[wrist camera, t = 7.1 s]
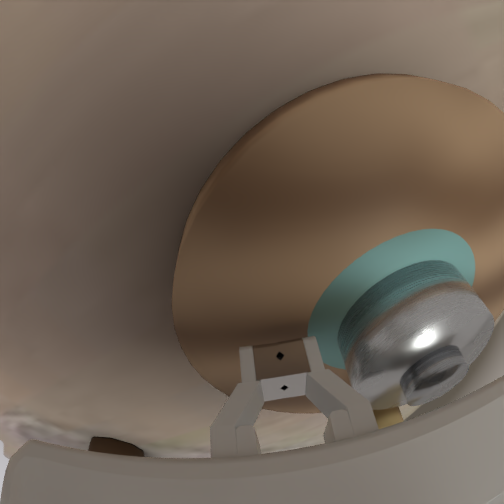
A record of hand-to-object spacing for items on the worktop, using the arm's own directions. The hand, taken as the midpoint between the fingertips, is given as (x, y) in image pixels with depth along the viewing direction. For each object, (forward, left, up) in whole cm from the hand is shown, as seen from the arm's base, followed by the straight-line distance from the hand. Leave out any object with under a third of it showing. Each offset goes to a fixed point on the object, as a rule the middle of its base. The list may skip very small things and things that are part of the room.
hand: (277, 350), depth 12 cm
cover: (+1, +6, -1) cm, 6 cm away
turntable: (0, +6, -3) cm, 7 cm away
